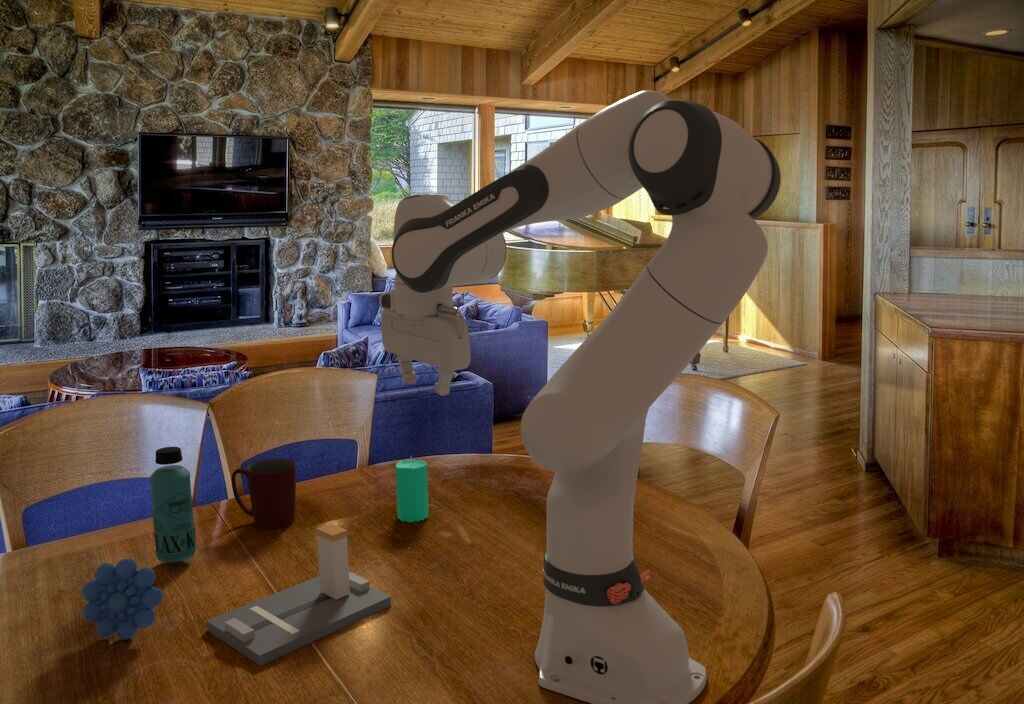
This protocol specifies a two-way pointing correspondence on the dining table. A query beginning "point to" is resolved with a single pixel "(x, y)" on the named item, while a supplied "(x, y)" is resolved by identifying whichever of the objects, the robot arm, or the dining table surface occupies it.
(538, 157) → the robot arm
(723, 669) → the dining table surface
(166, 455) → the beverage bottle
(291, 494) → the mug
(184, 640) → the dining table surface
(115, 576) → the blue flower
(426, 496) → the candle
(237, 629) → the board
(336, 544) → the fader tab
